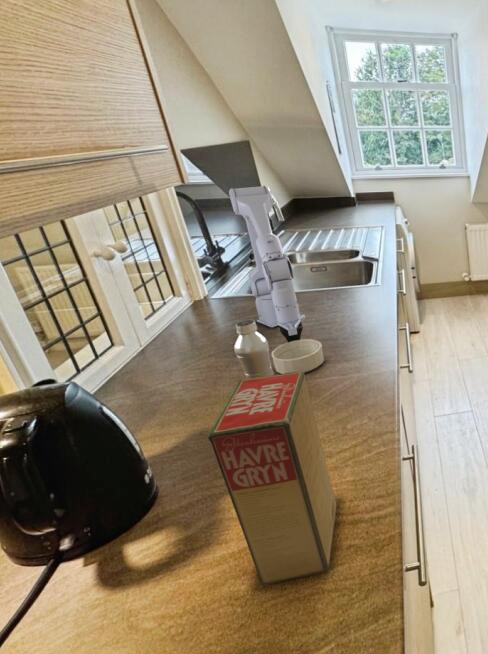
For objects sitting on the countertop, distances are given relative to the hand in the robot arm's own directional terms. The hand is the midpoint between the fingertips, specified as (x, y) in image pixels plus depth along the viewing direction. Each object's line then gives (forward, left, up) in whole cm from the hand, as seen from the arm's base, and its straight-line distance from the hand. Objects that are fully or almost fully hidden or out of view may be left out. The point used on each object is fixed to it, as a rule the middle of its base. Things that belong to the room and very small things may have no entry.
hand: (296, 349), depth 125 cm
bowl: (+7, -4, -1) cm, 8 cm away
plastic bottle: (+18, -19, -1) cm, 26 cm away
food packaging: (+58, -36, -1) cm, 68 cm away
